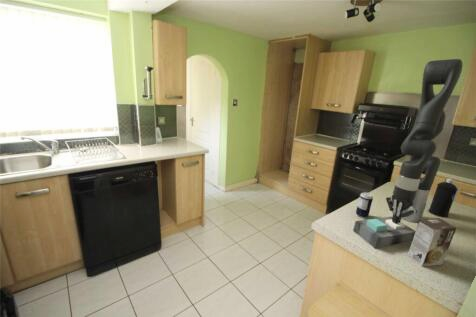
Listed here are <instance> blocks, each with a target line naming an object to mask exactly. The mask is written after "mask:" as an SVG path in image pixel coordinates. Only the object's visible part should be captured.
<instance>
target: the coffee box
mask: <svg viewBox="0 0 476 317" xmlns="http://www.w3.org/2000/svg"><path fill="white" fill-rule="evenodd" d="M456 230H457V227H456V226H454V225H452V224H450V223H449V222H448V221H445V220H443V219H442V218H441V217H440V218H439V217H436V218H421V219H420V220H419V222H417V227H416V229H415V231H416V232H415V235H414V238H413V241H412V242H411V243H410V244H411V245H410V248H409V250H408V253H407V255H408V257H410V259H412V260H414V262H416V263H417V264H418V265H419V266H421V267H431V266H441V265H443V264H444V261H445V259H446V257H447V253H448V251H449V248H450V245H451V243H452V240H453V238H454V235H455V232H456Z"/></svg>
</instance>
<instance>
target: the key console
mask: <svg viewBox="0 0 476 317" xmlns="http://www.w3.org/2000/svg"><path fill="white" fill-rule="evenodd" d="M392 217H393V216H385V217H378V218H377V217H376V218H375V217H374V219H378V220H380V221H381V222H383V223H384V224H386V223H385V221H386V220H389V219H392ZM370 219H371V218H370ZM370 219H367V218H366V219H361V220H355V221H354V226H353V229H352V231H353V232H354V233H355V234H356V235H358V236H359V237H360V238H362V240H364V241H365V242H367V243H368V244H369V245H370V246H371V247H373V248H374V249H381V248H385V247H386V248H387V247H390V246H391V247H392V246H396V245H402V244H409V243H412V241H413V238H414V235H415V232H416V229H413V228H411V227H410V226H408V225H406V224H405V223H404V222H401V223H402V224H404V225H405V227H404V228H401V229H394V228H393V227H391V226H390V225H388V224H386V225H387V226H386V230H385V231H381V232H375V231H373V230H372V229H371V228H369V227H368V226H366V224H367V220H370Z"/></svg>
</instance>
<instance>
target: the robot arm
mask: <svg viewBox="0 0 476 317" xmlns="http://www.w3.org/2000/svg"><path fill="white" fill-rule="evenodd" d="M462 70H463V61H462V59H460V58H452V59H451V58H450V59H438V60H436V59H435V60H429V61H428V62H427V63H426V64H425V66H424V68H423V73H422V82H421V96H420V104H419V109H418V113H417V116H416V119H415V122H414V125H413V127H412V129H411V131H410V133H409V134H408V135H407V137H406V138H405V139H404V141H403V142H402V144H401V145H400V151H401V153H402V155H403V154H404V155H406V156H410V158H409V160H405V161H403V162H401V163H402V164H401V166H400V170H399V173H398V176H397V178H396V182H395V185H394V188H393V191H392V195H391V196H388V197H386V198H385V201H386V204H387V206H388V208H389V211H390V212H392V216H391V217H392V222H394V223H395V224H397V223H400V222H402V219H403V220H405V221H409V222H413V223H419V220H420V219H423V215H424V212H425V209H426V207H427V201H428V197H429V194H430V191H431V189H432V186H433V184H434V181H435V179H436V176H437V174H438V171H439V169H440V166H441V163H442V162H441V158H439V157H438V156H433V155H434V154H435V153H436V151H437V144H436V143H435V142H434V141H433V140H434V139H436V138H437V137H438V136H439V135H440V134H441V133H442V131H443V130H444V125H445V122H446V121H445V120H446V113H445V110H444V109H445V108H446V105H447V103H448V102H449V99H450V97H451V96H452V94H453V91H454V90H455V88H456V85H457V83H458V81H459V79H460V77H461V74H462ZM434 85H435V86H437V85H440V86H441V85H443V87H442V88H441V90H440V91H439V93H437V94H436V95H435V92H434ZM422 175H424V177H422Z"/></svg>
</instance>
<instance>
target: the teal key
mask: <svg viewBox="0 0 476 317" xmlns="http://www.w3.org/2000/svg"><path fill="white" fill-rule="evenodd" d="M366 220H367V219H366ZM366 226H368V227H369V228H371V229H372V230H373V231H375V232H381V231H385V230H386V226H387V225H386V224H384V223H383V222H381V221H380V220H378V219H375V218H370V220H367V224H366Z"/></svg>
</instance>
